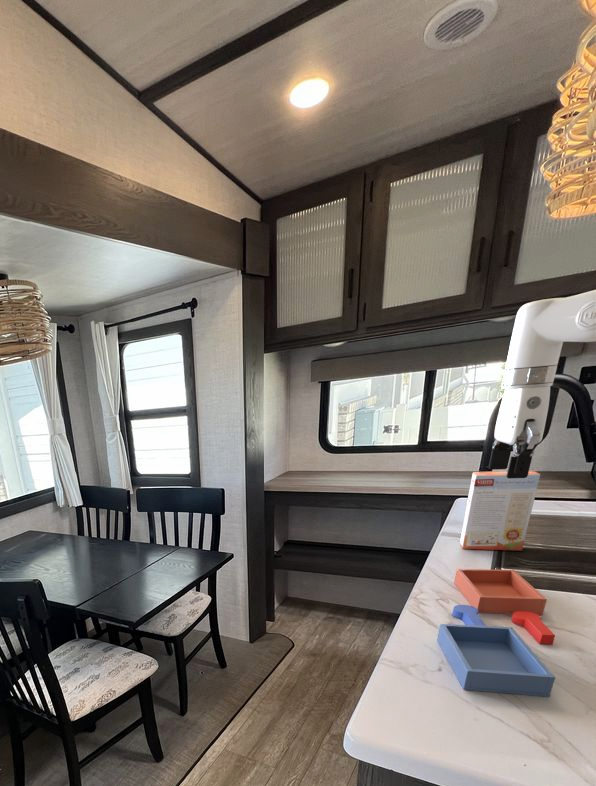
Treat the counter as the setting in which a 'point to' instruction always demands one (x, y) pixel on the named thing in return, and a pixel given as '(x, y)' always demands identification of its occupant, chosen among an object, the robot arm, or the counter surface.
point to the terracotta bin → (499, 591)
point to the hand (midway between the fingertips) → (506, 473)
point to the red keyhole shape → (534, 626)
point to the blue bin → (494, 660)
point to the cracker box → (498, 511)
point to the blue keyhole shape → (467, 615)
